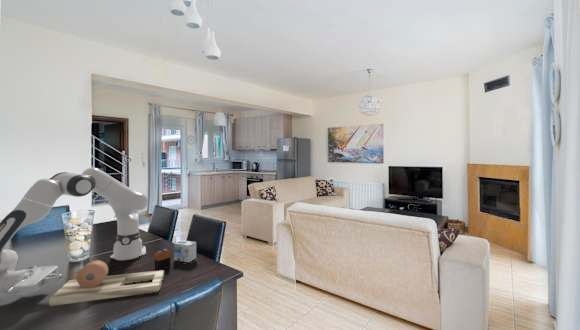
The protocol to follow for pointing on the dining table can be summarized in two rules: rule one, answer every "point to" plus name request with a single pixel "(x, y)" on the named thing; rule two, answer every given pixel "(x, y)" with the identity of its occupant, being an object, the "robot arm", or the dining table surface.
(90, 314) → the dining table surface
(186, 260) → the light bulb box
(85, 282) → the roller
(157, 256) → the battery
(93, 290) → the board
